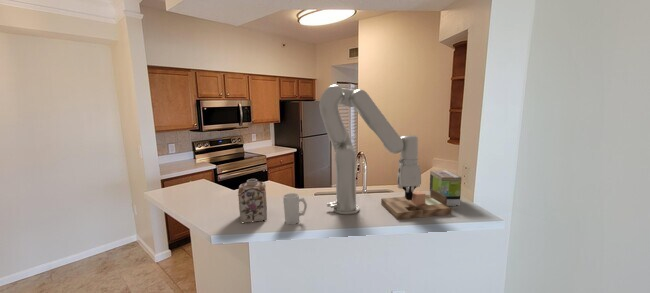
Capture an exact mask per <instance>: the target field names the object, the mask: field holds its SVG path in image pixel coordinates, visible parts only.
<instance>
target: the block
mask: <svg viewBox="0 0 650 293" xmlns="http://www.w3.org/2000/svg"><path fill="white" fill-rule="evenodd" d="M425 195H426V193H425V192H423V191H421V190H414V191H413V193H412V200H410V201H411V202H412V203H413V204H415V205H420V204H425Z"/></svg>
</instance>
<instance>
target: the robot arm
mask: <svg viewBox="0 0 650 293" xmlns="http://www.w3.org/2000/svg"><path fill="white" fill-rule="evenodd" d="M318 103H319V105H318V106H319V107H318V108H319V113H320V117H321V118H322V122H323V125H324V129H325V131H326V134H327V137H328V140H329V141H330V142H331V145H332V147H333V150H334V153H335V155H334V156H335V158H334V161H335V187H336V188H335V189H336V190H335V191H336V192H335V194H336V195H335V196H336V199H335V200H334V201H333V202H326V207H330V209H333V212H335V213H337V214H340V215H354V214H357V213H358V212H359V211H360V206H359V205H358V204H357V183H356V182H357V179H356V177H357V176H356V175H357V174H356V173H357V171H356V170H357V168H356V167H357V166H356V165H357V155H356V151H355V148H354V145H353V143H352V140H351V138H350V135H349V132H348V130H347V128H346V126H345V124H344V122H343V119H342V117H341V113H340V110H339V106H342V107H343V106H344V107H348V108H354V110H355V111H356V112H357V113H358V115H359V116H360V117H361V119H362V120H363V121H364V123H365V125H366V126H367V127H368V128H369V129H370V130H372V131H373V133H374V134H375V135H376V136H377V138H378V139H379V140H380V141H381V142H382V144H383V147H384V149H386V150H387V151H388V152H389V153H391V154H395V155H396V154H399V153H400V158H399V159H398V160H397V162H398V164H399V165H398V169H397V170H398V171H397V184H398V185H397V188H398V189H401V190H403V191H404V197H405V198H406V199H407V200H412V193H413V191H415V189H416V188H419V187H421V185H422V173H421V167H420V164H419V163H418V159H419V158H418V157H419V156H418V149H419V147H418V146H419V144H418V143H419V138H418V137H417V136H416V135H411V134H410V135H408V134H407V135H399V134H398V132H397V130H395V129H394V127H393V126H392V125H391V123H390V122H389V121H388V120H387V118H386V117H385V115H384V114H383V113H382V111H381V110H380V109H379V107H378V106H377V105H376V103H375V101H373V99H372V97H371V96H370V95H369V94H368V92H367V91H365V89H349V88H344V87H341V86H340V85H337V84H332V85H329V86H328V87H327V88H326V89H325V90H324V91H323V93H322V94H321V96H320V99H319V102H318Z"/></svg>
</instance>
